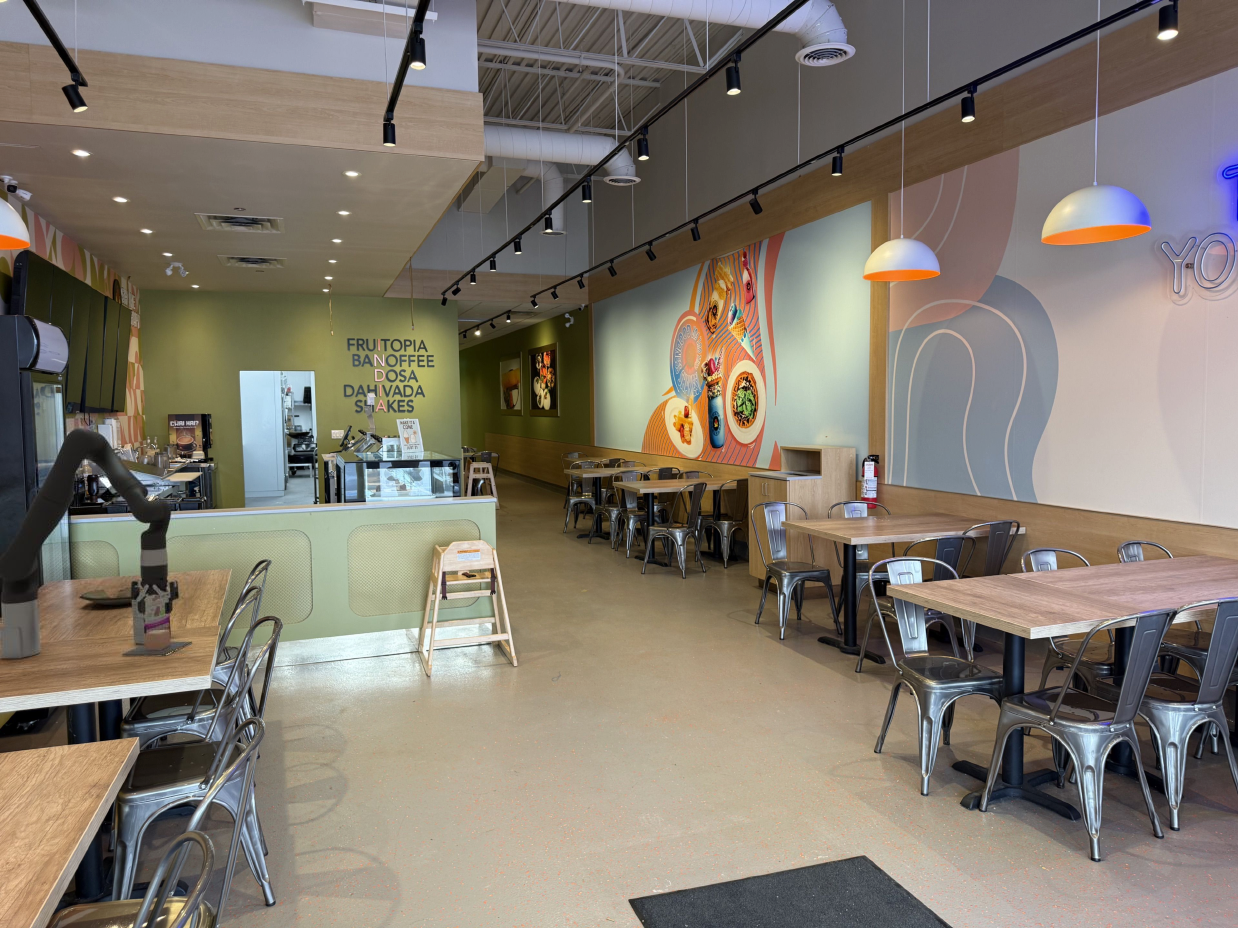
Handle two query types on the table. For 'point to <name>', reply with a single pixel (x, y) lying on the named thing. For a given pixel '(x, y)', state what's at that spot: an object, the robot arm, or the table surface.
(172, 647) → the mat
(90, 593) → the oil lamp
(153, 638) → the letter cube
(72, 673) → the table surface
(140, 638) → the candy bar box
